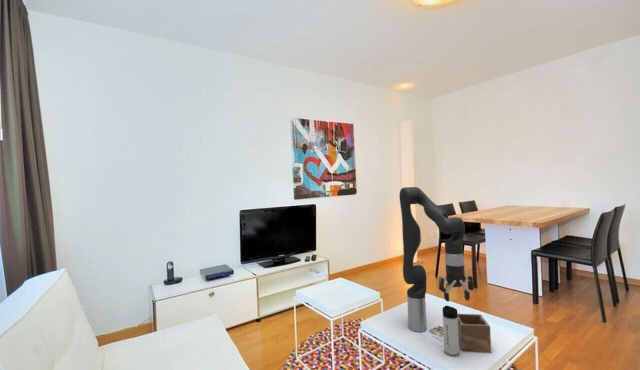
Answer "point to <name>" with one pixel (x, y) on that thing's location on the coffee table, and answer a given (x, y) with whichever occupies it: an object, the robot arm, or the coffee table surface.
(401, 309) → the coffee table surface
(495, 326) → the coffee table surface
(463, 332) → the wooden box
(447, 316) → the travel mug
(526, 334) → the coffee table surface
